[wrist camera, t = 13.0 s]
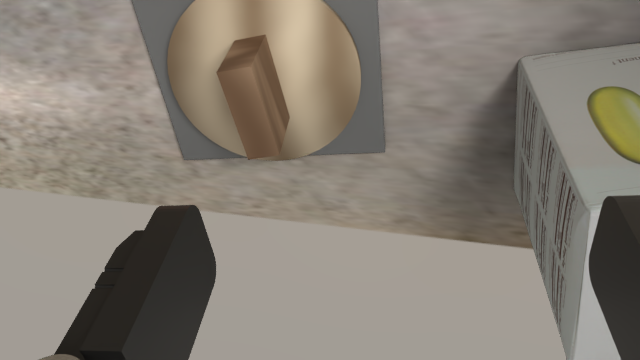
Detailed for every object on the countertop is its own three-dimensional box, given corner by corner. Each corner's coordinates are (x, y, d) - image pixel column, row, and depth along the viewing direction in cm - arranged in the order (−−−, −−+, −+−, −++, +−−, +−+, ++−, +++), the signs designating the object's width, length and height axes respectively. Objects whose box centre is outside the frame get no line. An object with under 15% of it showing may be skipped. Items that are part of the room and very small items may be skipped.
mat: (374, -48, 36) (374, -46, 35) (385, 148, 45) (385, 152, 45) (127, -24, 39) (124, -22, 38) (186, 156, 48) (184, 160, 48)
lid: (339, -45, 36) (333, -16, 31) (375, 140, 44) (375, 187, 39) (140, -1, 39) (103, 32, 34) (209, 164, 47) (188, 211, 42)
